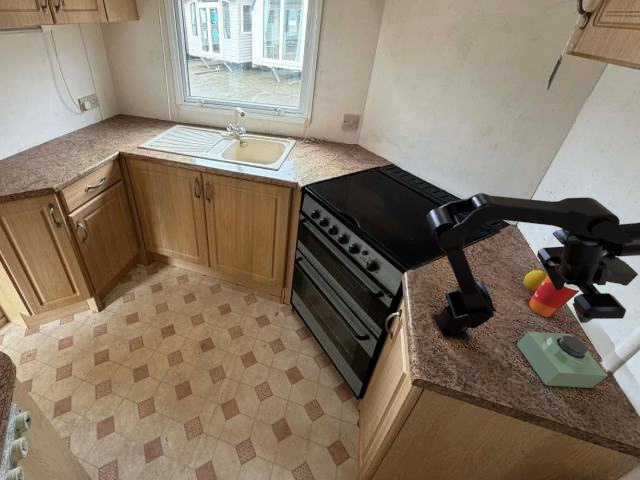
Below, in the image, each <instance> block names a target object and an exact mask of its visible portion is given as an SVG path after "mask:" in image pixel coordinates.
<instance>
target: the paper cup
mask: <svg viewBox="0 0 640 480" xmlns="http://www.w3.org/2000/svg"><path fill="white" fill-rule="evenodd" d="M579 292H582V291H581V290H580V289H579V288H578V287H577V286H575V285H574V284H572V285H567V284H566V283H565V284H564V287H563V289H562V290H556V289H555V287H554V286H553V284H552V282H551V280H550V278H549V276H548V275H547V277H546V278H545V280H544V281H543V282H542V284H541V285H540V287H539V288H538V290H537V291H536V292H534V294H533V295H532V296H531V298H530V300H529V302H528V306H529V307H530V309H531V310H532V311H534V313H536V314H538V315H540V316H542V317H545V318H549V317H552V316H554V314H556V313H557V312H558V311H559V310H560V309H561V308H563V306H565V305H566V304H567V303H568V302H569V301H570V300H571V299H573V298H574V297H576V296H577V294H579Z"/></svg>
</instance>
